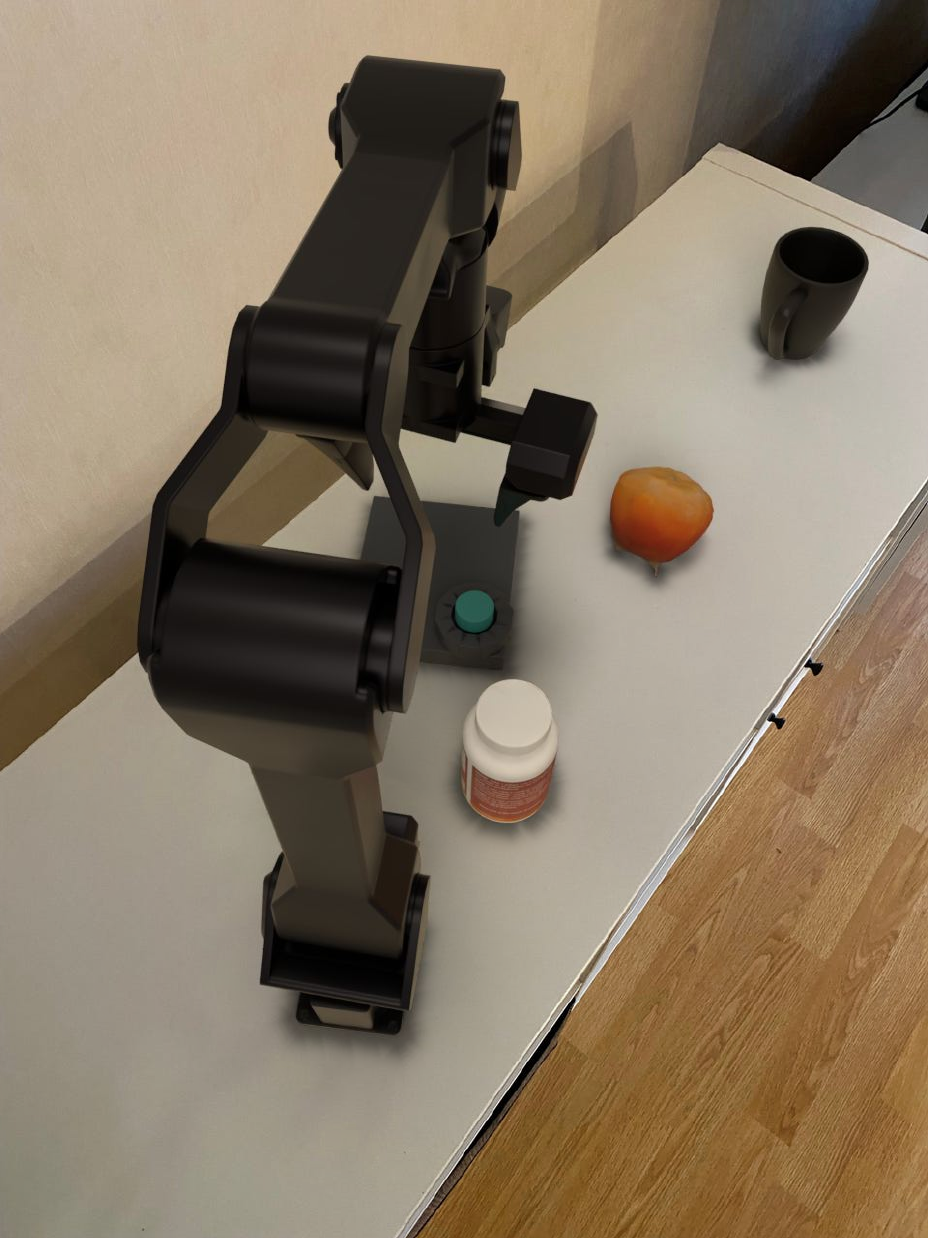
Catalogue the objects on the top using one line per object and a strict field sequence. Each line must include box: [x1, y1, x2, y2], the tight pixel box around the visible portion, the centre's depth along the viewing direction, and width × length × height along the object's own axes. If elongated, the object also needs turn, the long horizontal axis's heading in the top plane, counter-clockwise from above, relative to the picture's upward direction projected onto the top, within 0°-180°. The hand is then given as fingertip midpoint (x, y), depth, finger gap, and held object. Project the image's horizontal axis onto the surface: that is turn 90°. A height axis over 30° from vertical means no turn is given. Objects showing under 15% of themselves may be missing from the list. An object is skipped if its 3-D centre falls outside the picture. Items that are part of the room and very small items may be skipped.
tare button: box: [455, 590, 494, 633], centre depth 71 cm, size 3×3×2 cm
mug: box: [760, 226, 870, 361], centre depth 88 cm, size 8×12×10 cm
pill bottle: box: [460, 678, 560, 824], centre depth 63 cm, size 6×6×11 cm
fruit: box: [609, 466, 715, 578], centre depth 77 cm, size 8×8×8 cm
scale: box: [359, 495, 521, 671], centre depth 75 cm, size 14×12×4 cm
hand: (433, 503), depth 64 cm, fingers open, 9 cm apart
